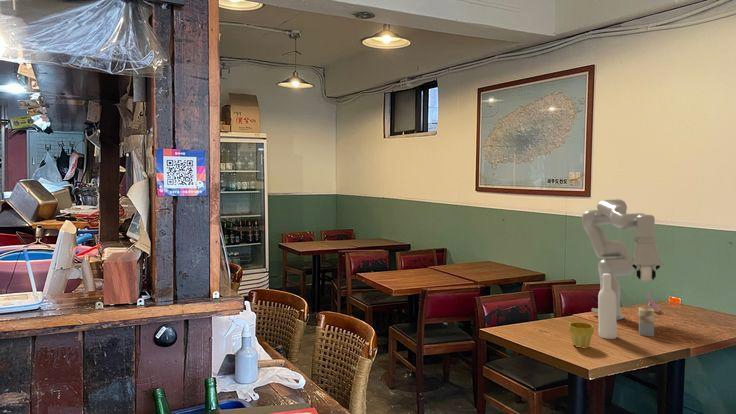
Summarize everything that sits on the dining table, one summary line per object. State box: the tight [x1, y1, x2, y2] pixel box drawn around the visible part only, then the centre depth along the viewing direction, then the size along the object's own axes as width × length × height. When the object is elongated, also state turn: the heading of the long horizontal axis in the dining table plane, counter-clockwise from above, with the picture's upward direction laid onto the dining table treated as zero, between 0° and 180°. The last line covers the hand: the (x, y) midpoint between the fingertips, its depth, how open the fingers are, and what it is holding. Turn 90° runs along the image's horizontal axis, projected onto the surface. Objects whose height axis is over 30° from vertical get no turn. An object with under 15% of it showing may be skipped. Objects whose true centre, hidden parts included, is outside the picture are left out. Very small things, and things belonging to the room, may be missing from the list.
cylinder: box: [639, 265, 653, 282], centre depth 241 cm, size 5×5×7 cm
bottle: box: [597, 274, 618, 340], centre depth 240 cm, size 8×8×30 cm
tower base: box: [638, 321, 655, 337], centre depth 242 cm, size 6×6×6 cm
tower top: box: [638, 306, 655, 325], centre depth 242 cm, size 6×6×6 cm
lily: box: [645, 291, 661, 313], centre depth 281 cm, size 12×12×10 cm
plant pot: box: [568, 321, 595, 347], centre depth 228 cm, size 10×10×10 cm
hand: (646, 278), depth 241 cm, fingers closed on cylinder, 5 cm apart
